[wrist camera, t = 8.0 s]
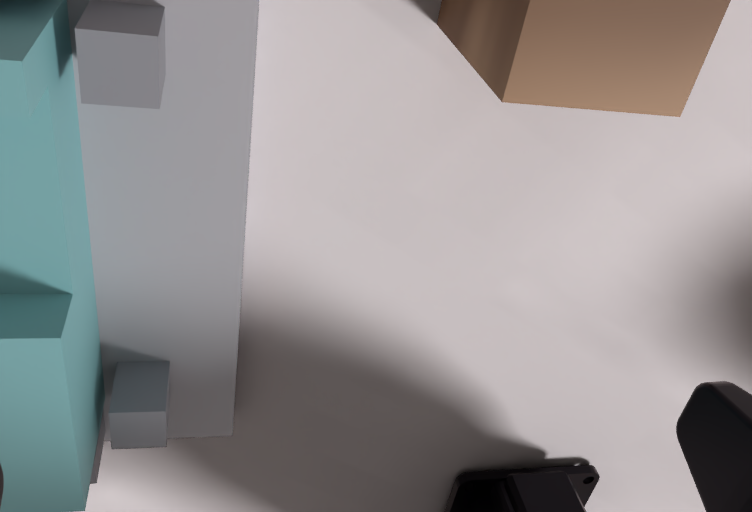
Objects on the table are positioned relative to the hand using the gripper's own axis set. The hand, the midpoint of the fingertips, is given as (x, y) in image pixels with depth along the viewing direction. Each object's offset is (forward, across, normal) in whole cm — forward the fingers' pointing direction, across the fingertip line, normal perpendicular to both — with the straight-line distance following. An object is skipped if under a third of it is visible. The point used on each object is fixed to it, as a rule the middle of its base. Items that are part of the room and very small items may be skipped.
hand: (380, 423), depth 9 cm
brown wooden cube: (+11, -6, -4) cm, 13 cm away
